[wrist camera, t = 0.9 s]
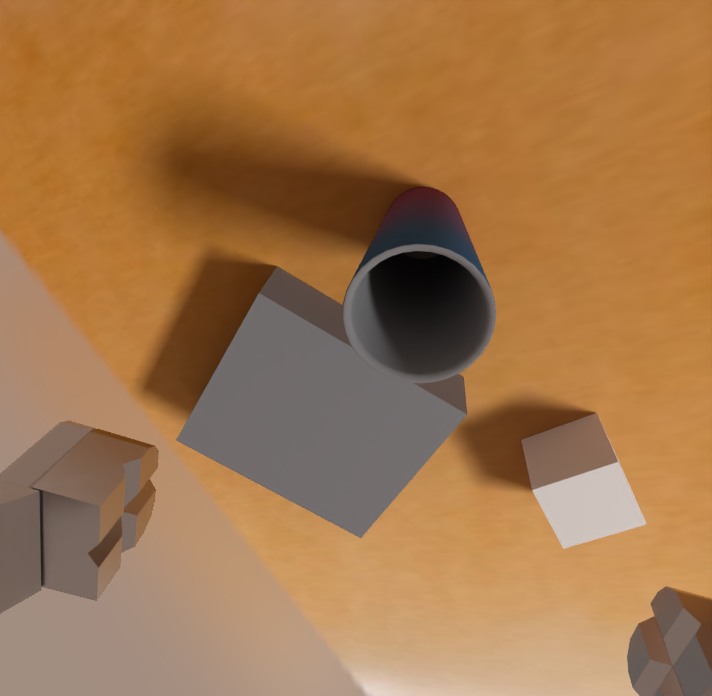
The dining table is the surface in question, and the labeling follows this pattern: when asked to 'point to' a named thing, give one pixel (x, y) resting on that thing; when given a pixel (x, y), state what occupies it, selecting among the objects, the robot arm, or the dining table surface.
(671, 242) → the dining table surface
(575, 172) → the dining table surface
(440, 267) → the cup
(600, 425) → the white cube
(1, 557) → the robot arm
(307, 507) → the plinth
